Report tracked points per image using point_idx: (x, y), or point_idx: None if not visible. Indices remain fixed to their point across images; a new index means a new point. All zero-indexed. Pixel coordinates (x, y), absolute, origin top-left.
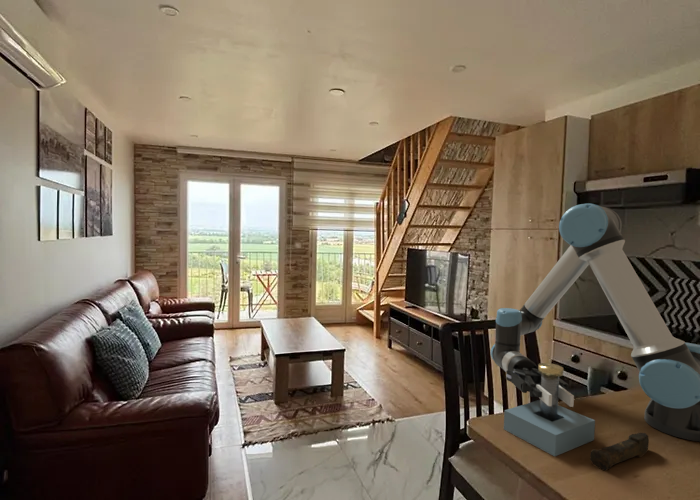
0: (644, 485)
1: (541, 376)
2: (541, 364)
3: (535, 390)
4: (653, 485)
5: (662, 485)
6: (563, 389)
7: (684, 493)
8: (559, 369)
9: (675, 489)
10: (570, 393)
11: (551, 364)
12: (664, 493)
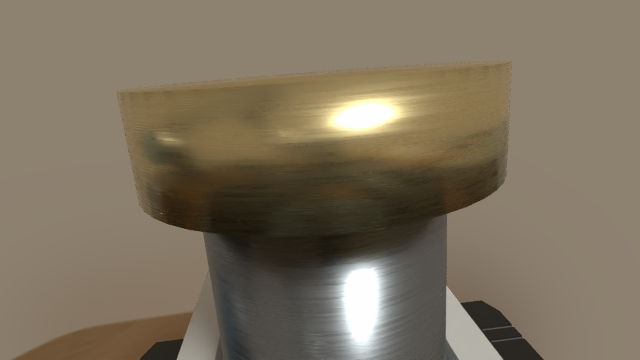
0: (171, 335)
1: (446, 244)
2: (452, 65)
3: (510, 323)
4: (144, 339)
5: (116, 343)
6: (210, 320)
7: (93, 328)
8: (249, 77)
9: (98, 336)
10: (209, 271)
11: (235, 83)
12: (150, 319)
